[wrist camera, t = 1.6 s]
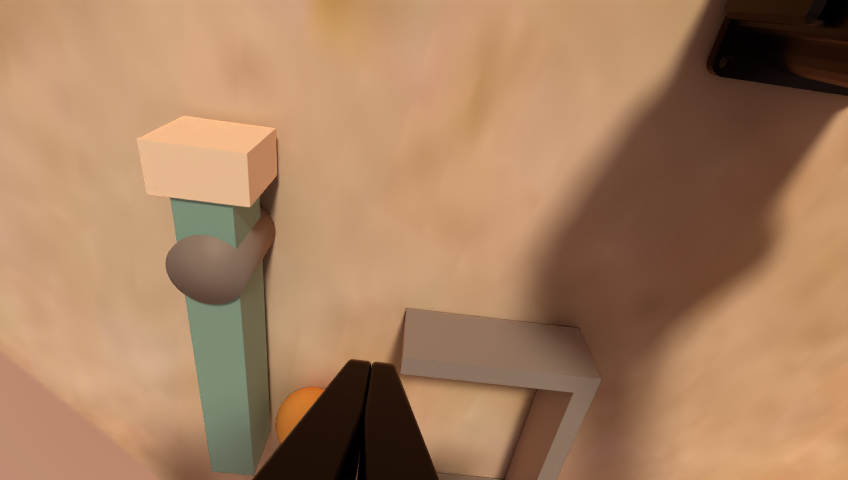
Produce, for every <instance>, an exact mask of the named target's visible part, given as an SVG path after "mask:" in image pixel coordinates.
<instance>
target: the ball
mask: <svg viewBox="0 0 848 480" xmlns="http://www.w3.org/2000/svg"><path fill="white" fill-rule="evenodd" d="M323 391H324V389H321V388H317V387H306V388H302V389H299V390H297V391H295V392H294V393H292V394H291V395H290V396H288V397H287V398H286V400H285V401H284V402H283V403H282V405H281V407H280V409H279V411H278V413H277V417H276V433H277V437H278V439H279V441H280V443H282V442H283V441H284V439H285V438H286V437H287V436H288V435H289V433H290V432H291V431H292V430H293V428H294V427H295V426H296V425H297V423H298V422H299V421H300V420H301V419H302V417H303V416H304V415H305V414H306V412H307V411H308V410H309V409H310V407H311V406H312V405H313V404H314V403H315V401H316V400H317V399H318V398H319V396H320V395H321V394H322V393H323Z"/></svg>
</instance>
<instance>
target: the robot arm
mask: <svg viewBox="0 0 848 480" xmlns="http://www.w3.org/2000/svg"><path fill="white" fill-rule="evenodd" d="M725 12H726V16H725V19H724V21H723V24H722V26H721V28H720V31H719V33H718V36H717V38H716V41H715V43H714V45H713V48H712V50H711V53H710V55H709V57H708V61H707V70H708V71H709V72H710V73H711V74H714V75H717V76H720V77H726V78H733V79H739V80H746V81H753V82H759V83H766V84H773V85H779V86H786V87H792V88H799V89H806V90H812V91H819V92H826V93H832V94H839V95H846V96H848V0H729V1H728V3H727V5H726V8H725ZM726 55H727V57H728V61H727V63H726V65H725V66H723V67H722V68H720V61H721V59H722V58H723V57H725V56H726ZM358 464H359V465H358ZM357 471H358V475H357ZM356 477H357V480H439V478H438V475H437V473H436V470H435V468H434V465H433V463H432V460H431V457H430V455H429V452H428V450H427V447H426V445H425V442H424V439H423V437H422V434H421V432H420V429H419V427H418V424H417V421H416V419H415V416H414V414H413V411H412V409H411V406H410V403H409V401H408V398H407V396H406V393H405V391H404V388H403V385H402V383H401V380H400V378H399V375H398V373H397V370H396V368H395V366H394V365H393V364H391V363H383V362H374V363H373V364H372V367H371V363H370V362H369V361H364V360H355V359H351V360H349V361H348V362H347V363H346V364H345V366H344V367H343V368H342V369H341V371H340V372H339V373H338V374H337V375H336V377H335V378H334V379H333V380H332V382H331V383H330V384H329V385H328V387H327V388H326V389H325V390H324V391H323V393H322V394H321V395H320V396H319V398H318V399H317V400H316V401H315V403H314V404H313V405H312V406H311V407H310V409H309V410H308V411H307V412H306V414H305V415H304V416H303V417H302V419H301V420H300V421H299V422H298V423H297V425H296V426H295V427H294V428H293V430H292V431H291V432H290V433H289V435H288V436H287V437H286V438H285V439H284V441H283V442H282V443H281V444H280V446H279V447H278V448H277V449H276V451H275V452H274V453H273V454H272V455H271V457H270V458H269V459H268V460H267V462H266V463H265V464H264V465H263V467H262V468H261V469H260V470H259V471H258V473H257V474H256V475H255V476H254V478H253V479H252V480H356Z"/></svg>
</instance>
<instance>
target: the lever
mask: <svg viewBox="0 0 848 480" xmlns="http://www.w3.org/2000/svg"><path fill="white" fill-rule="evenodd" d="M137 143H138V149H139V154H140V160H141V166H142V171H143V177H144V182H145V188H146V194H148V195H156V196H164V197H170V199H171V206H172V212H173V219H174V225H175V232H176V239H177V243H176V244H175V245H174V246H173V247H172V248H171V249H170V251H169V252H168V255H167V258H166V270H167V273H168V276H169V278H170V280H171V281H172V283H173V284H174V285H175V286H176V287H177V289H179V290H180V291H181V292H182V293H183V294H185V298H186V304H187V311H188V318H189V324H190V331H191V337H192V344H193V351H194V357H195V364H196V370H197V377H198V384H199V390H200V397H201V403H202V410H203V417H204V423H205V430H206V436H207V443H208V450H209V456H210V463H211V469H212V472H222V473H233V474H243V475H254V474H255V471H256V468H257V466H258V463H259V460H260V457H261V455H262V452H263V449H264V447H265V444H266V441H267V438H268V436H269V433H270V411H269V389H268V367H267V346H266V324H265V303H264V281H263V258H264V256H265V254H266V253H267V251H268V250H269V248H270V246H271V245H272V243H273V241H274V238H275V226H274V223H273V220H272V219H271V217H270V215H269V214H268V213H267V212H266V210H265V209H263V208H262V207H261V206H260V195H261V194H262V193H263V191H264V190H265V189H266V188H267V187H268V186H269V184H270V183H271V182H272V181H273V180H274V178H275V177H276V176H277V153H276V128H270V127H263V126H255V125H248V124H241V123H233V122H226V121H219V120H211V119H204V118H197V117H189V116H182V117H180V118H178V119H176V120H174V121H172V122H170V123H168V124H166V125H164V126H162V127H160V128H158V129H156V130H154V131H152V132H150V133H148V134H146V135H144V136H142V137H140V138H138V139H137Z"/></svg>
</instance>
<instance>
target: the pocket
mask: <svg viewBox="0 0 848 480" xmlns="http://www.w3.org/2000/svg"><path fill="white" fill-rule="evenodd" d="M400 374H406V375H415V376H424V377H433V378H443V379H452V380H461V381H470V382H480V383H489V384H498V385H507V386H517V387H526V388H535V389H537V392H536V395H535V397H534V400H533V403H532V406H531V408H530V411H529V414H528V417H527V419H526V422H525V425H524V428H523V430H522V433H521V436H520V439H519V441H518V444H517V447H516V450H515V452H514V455H513V458H512V461H511V463H510V466H509V469H508V472H507V474H506V477H505V479H495V478H485V477H474V476H464V475H454V474H443V473H437V475H438V478H439V480H556V479H557V477H558V475H559V473H560V471H561V468H562V466H563V464H564V462H565V460H566V457H567V455H568V453H569V451H570V449H571V446H572V444H573V442H574V440H575V438H576V435H577V433H578V431H579V429H580V427H581V424H582V422H583V420H584V418H585V416H586V413H587V411H588V409H589V407H590V405H591V402H592V400H593V398H594V396H595V394H596V391H597V389H598V387H599V385H600V383H601V380H602V378H601V376H600V374H599V371H598V369H597V367H596V365H595V363H594V360H593V358H592V356H591V354H590V351H589V349H588V347H587V345H586V342H585V340H584V338H583V336H582V333H581V331H580V329H579V328H573V327H565V326H556V325H547V324H539V323H530V322H522V321H513V320H504V319H496V318H487V317H479V316H470V315H461V314H453V313H444V312H436V311H427V310H418V309H410V308H406V315H405V322H404V333H403V346H402V359H401V371H400Z"/></svg>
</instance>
